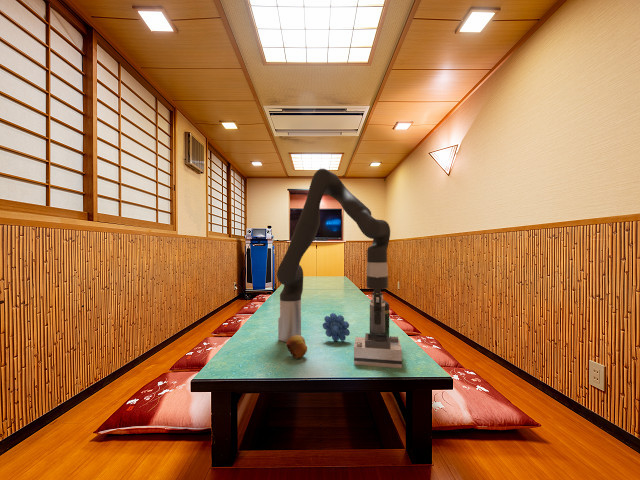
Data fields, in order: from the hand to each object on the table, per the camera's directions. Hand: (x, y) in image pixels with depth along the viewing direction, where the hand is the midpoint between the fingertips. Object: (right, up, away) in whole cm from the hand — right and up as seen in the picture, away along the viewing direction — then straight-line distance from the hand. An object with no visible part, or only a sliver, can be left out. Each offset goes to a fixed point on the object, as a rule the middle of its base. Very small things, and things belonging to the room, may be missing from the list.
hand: (377, 321), depth 104 cm
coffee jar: (+4, -14, +15) cm, 21 cm away
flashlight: (0, -3, 0) cm, 3 cm away
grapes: (-14, -14, +19) cm, 27 cm away
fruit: (-29, -14, +2) cm, 32 cm away
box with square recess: (0, -13, 0) cm, 13 cm away
